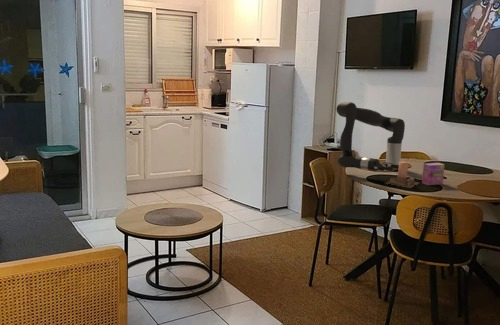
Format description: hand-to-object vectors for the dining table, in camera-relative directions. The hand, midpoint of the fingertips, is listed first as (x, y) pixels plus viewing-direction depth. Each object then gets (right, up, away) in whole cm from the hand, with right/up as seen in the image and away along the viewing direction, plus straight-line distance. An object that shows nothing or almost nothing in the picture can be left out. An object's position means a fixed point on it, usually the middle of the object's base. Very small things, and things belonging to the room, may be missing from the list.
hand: (395, 168), depth 288 cm
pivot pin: (+3, -8, -1) cm, 9 cm away
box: (+22, -9, +1) cm, 23 cm away
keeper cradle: (+3, -9, -1) cm, 10 cm away
